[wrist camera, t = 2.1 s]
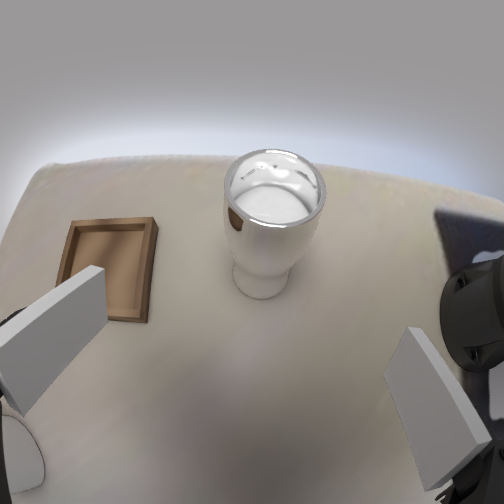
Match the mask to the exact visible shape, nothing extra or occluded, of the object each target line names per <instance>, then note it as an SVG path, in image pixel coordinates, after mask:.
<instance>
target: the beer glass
mask: <svg viewBox="0 0 504 504" xmlns="http://www.w3.org/2000/svg"><path fill="white" fill-rule="evenodd" d="M325 200H326V185H325V182H324V179H323V177H322V175H321V174H320V172H319V171H318V170H317V168H316V167H315V166H314V165H313V164H311V163H310V162H309V161H308V160H306V159H304V158H303V157H301V156H299V155H297V154H295V153H292V152H289V151H284V150H279V149H263V150H257V151H253V152H250V153H248V154H246V155H244V156H242V157H240V158H239V159H238V160H236V161H235V162H234V163H233V164H232V165H231V167H230V168H229V170H228V171H227V174H226V176H225V180H224V207H223V216H224V228H225V234H226V238H227V241H228V244H229V247H230V250H231V252H232V254H233V256H234V258H235V260H236V261H235V264H234V268H233V277H234V281H235V283H236V285H237V287H238V288H239V289H240V290H241V291H242V292H243V293H244V294H246V295H247V296H249V297H252V298H255V299H268V298H271V297H274V296H276V295H277V294H279V293H280V292H281V291H282V290H283V289H284V287H285V286H286V284H287V281H288V278H289V269H290V268H291V267H292V266H293V265H294V264H295V263H296V262H297V261H298V260H299V259H300V258H301V256H302V255H303V254H304V253H305V251H306V250H307V248H308V246H309V244H310V242H311V241H312V239H313V236H314V234H315V231H316V229H317V226H318V223H319V219H320V216H321V212H322V208H323V206H324V203H325Z"/></svg>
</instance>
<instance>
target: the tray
mask: <svg viewBox="0 0 504 504" xmlns="http://www.w3.org/2000/svg"><path fill="white" fill-rule="evenodd" d="M157 234H158V226H157V224H156V222H155V220H154V218H153V217H137V218H114V219H95V220H78V221H72V222H71V226H70V229H69V232H68V236H67V239H66V243H65V247H64V251H63V254H62V258H61V263H60V267H59V271H58V276H57V281H56V286H55V288H56V287H57V286H59V285H60V284H62V283H63V282H65V281H66V280H68V279H69V278H71V277H73V276H74V275H76V274H77V273H79V272H80V271H82V270H83V269H85V268H87V267H88V266H90V265H93V266H97V267H101V268H104V269H105V291H106V305H107V316H108V320H112V321H124V322H138V323H147V321H148V308H149V297H150V288H151V278H152V270H153V262H154V254H155V247H156V240H157Z"/></svg>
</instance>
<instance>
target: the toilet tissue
mask: <svg viewBox="0 0 504 504" xmlns="http://www.w3.org/2000/svg"><path fill="white" fill-rule="evenodd" d="M2 432H3V448H4V458H5V467H6V474H7V480H8V486H9V491H10V495H12V494H16V493H20V492H23V491H27V490H29V489H33V488H36V487H38V486H39V485H41V484H42V482H43V480H44V471H45V470H44V463H43V459H42V456H41V453H40V451H39V448H38V446H37V444H36V442H35V440H34V439H33V437H32V436H31V434H30V433H29V431H28V430H27V429H26V428H25V427H24V426H23V425H22V424H21V423H20V422H19V421H18V420H16V419H14V418H13V417H9V416H3V415H2Z"/></svg>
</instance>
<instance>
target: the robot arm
mask: <svg viewBox="0 0 504 504" xmlns="http://www.w3.org/2000/svg"><path fill="white" fill-rule="evenodd" d="M440 318H441V327H442V332H443V336H444V340H445V343H446V346H447V348H448V350H449V352H450V354H451V356H452V357H453V359H454V360H455V361H456V362H457V363H458V364H459V365H460V366H461V367H462V368H464V369H465V370H468V371H471V372H480V371H484V370H489V369H491V368H494V367H496V366H497V365H498V364H500V363H501V362H502V361H504V255H502V256H501V257H499V258H498V259H493V260H488V261H483V262H478V263H472V264H469V265H467V266H465V267H463V268H462V269H460V270H459V271H457V272H456V273H454V274H453V275H452V276H451V277H450V279H449V280H448V282H447V283H446V286H445V288H444V291H443V294H442V299H441V308H440ZM107 323H108V316H107V305H106V291H105V269H104V268H101V267H97V266H93V265H90V266H88V267H87V268H85V269H83V270H82V271H80V272H79V273H77V274H76V275H74V276H73V277H71V278H69V279H68V280H66V281H65V282H63V283H62V284H60V285H59V286H57V287H56V288H54V289H53V290H51V291H50V292H48V293H47V294H46V295H44V296H43V297H41V298H40V299H38V300H37V301H35V302H34V303H33V304H31V305H30V306H28V307H26V308H23V309H20V310H18V311H16V312H14V313H13V314H11V315H10V316H9V317H7V319H5V320H3V321H2V322H1V323H0V398H1V397H2V396H3V395H4V397H5V399H6V401H7V402H8V404H9V406H10V407H11V408H13V409H14V410H15V411H17V412H18V413H19V414H21V415H22V416H23V417H24V416H25V415H26V413H27V412H28V411H29V410H30V409H31V407H32V406H33V405H34V404H35V403H36V401H37V400H38V399H39V398H40V397H41V395H42V394H43V393H44V392H45V391H46V390H47V388H48V387H49V386H50V385H51V384H52V383H53V381H54V380H55V379H56V378H57V377H58V376H59V375H60V374H61V372H62V371H63V370H64V369H65V368H66V367H67V366H68V365H69V363H70V362H71V361H72V360H73V359H74V358H75V357H76V356H77V355H78V354H79V353H80V351H81V350H82V349H83V348H84V347H85V346H86V345H87V344H88V343H89V342H90V341H91V340H92V339H93V338H94V336H95V335H96V334H97V333H98V332H99V331H100V330H101V329H102V328H103V327H104V326H105V325H106V324H107ZM383 375H384V378H385V380H386V383H387V385H388V388H389V390H390V393H391V395H392V398H393V400H394V403H395V405H396V408H397V410H398V413H399V416H400V418H401V421H402V424H403V427H404V429H405V432H406V435H407V438H408V441H409V443H410V446H411V449H412V452H413V455H414V458H415V461H416V464H417V468H418V471H419V474H420V477H421V480H422V484H423V487H424V491H425V492H426V491H429V490H433V489H436V488H440V487H442V486H443V485H444V484H445V483H447V482H448V481H449V480H450V479H451V478H452V480H453V484H452V485H451V486H450V487H448V488H447V489H446V490H444V491H443V492H442V493H440V494H439V495H438V496H437V497H436V499H435V500H436V501H437V500H438V499H440V498H441V497H443V496H444V495H445V498H443V499H442V500H441V501H440V502H441V503H442V504H504V440H501V441H499V442H498V441H497V440H496V438H495V436H494V434H493V433H492V431H491V429H490V427H489V425H488V424H487V422H486V420H485V418H484V417H483V415H481V412H480V410H479V408H477V405H476V403H475V402H474V400H473V399H472V397H471V396H470V395H469V394H468V393H467V392H466V391H465V390H464V389H462V387H461V385H460V384H459V382H458V381H457V379H456V378H455V376H454V375H453V373H452V372H451V370H450V369H449V367H448V366H447V364H446V363H445V361H444V360H443V358H442V357H441V356H440V354H439V353H438V351H437V350H436V348H435V347H434V346H433V344H432V343H431V341H430V340H429V339H428V337H427V336H426V335H425V333H424V332H423V330H422V329H421V328H416V327H407V328H406V331H405V333H404V335H403V337H402V339H401V341H400V343H399V345H398V347H397V350H396V352H395V353H394V355H393V357H392V359H391V361H390V363H389V365H388V367H387V369H386V371H385V373H384V374H383ZM0 504H12V501H11V496H10V491H9V486H8V480H7V474H6V467H5V458H4V448H3V432H2V404H1V401H0Z"/></svg>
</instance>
